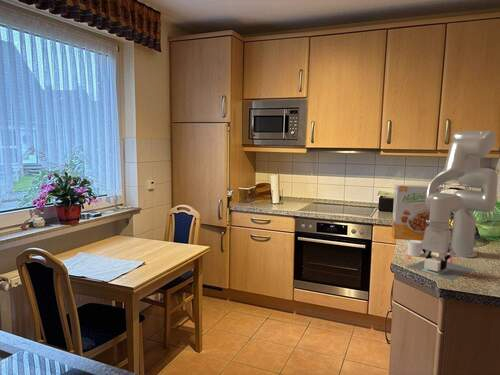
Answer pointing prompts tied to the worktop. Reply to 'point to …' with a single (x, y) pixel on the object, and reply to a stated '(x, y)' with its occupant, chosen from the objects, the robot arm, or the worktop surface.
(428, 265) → the card box
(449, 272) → the mat
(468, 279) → the worktop surface
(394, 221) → the cereal box
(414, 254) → the white cup
